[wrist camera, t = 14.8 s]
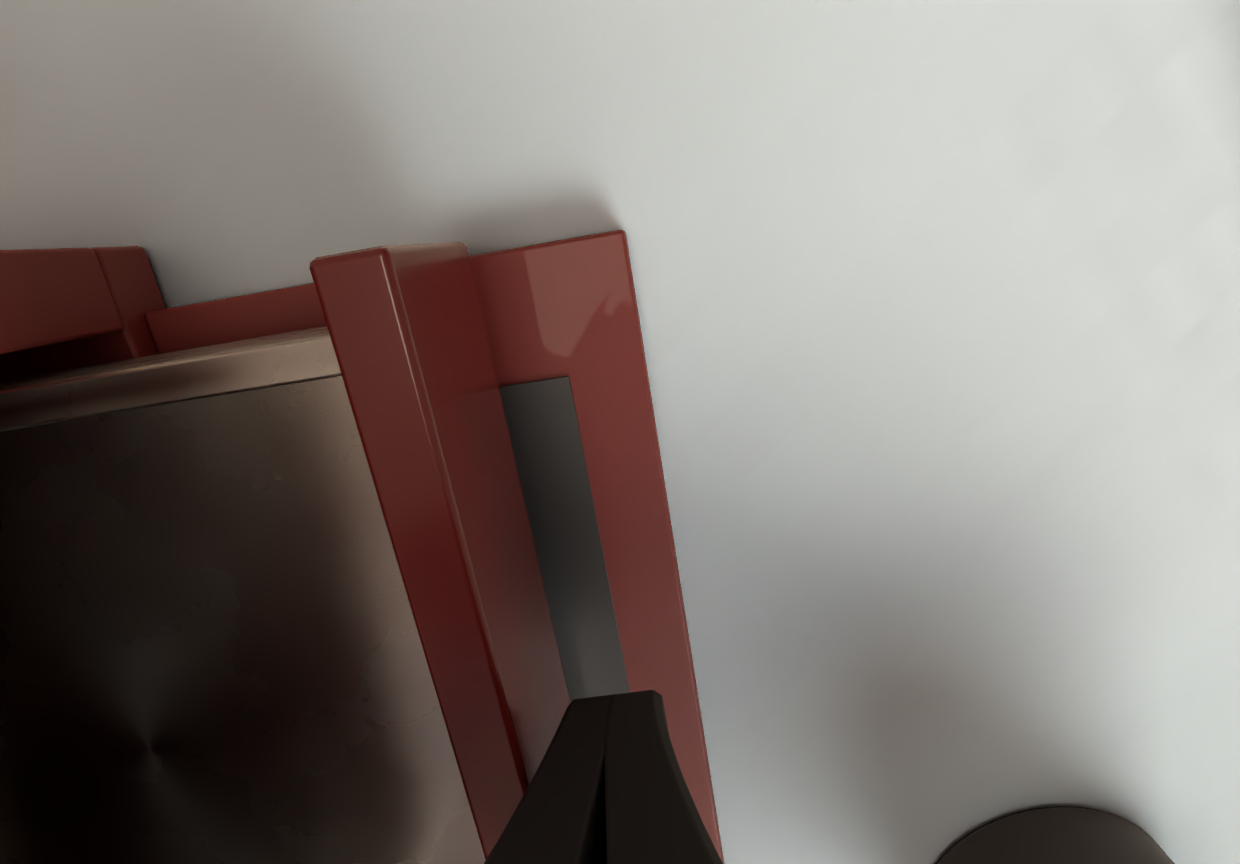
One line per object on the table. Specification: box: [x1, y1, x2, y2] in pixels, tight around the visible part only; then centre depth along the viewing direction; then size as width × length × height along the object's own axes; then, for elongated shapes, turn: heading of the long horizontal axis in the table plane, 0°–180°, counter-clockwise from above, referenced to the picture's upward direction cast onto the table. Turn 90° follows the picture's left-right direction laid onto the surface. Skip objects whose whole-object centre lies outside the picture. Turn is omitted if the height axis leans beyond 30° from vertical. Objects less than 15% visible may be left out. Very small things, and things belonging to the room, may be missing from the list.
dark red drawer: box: [0, 242, 570, 864], centre depth 10 cm, size 13×14×3 cm
